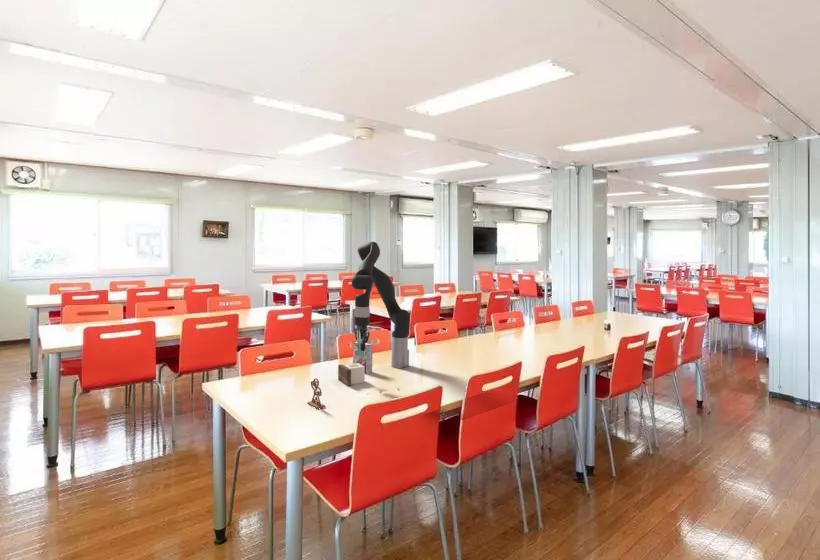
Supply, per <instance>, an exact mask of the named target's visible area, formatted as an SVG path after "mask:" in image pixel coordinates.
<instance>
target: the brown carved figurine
mask: <svg viewBox="0 0 820 560" xmlns="http://www.w3.org/2000/svg"><path fill="white" fill-rule="evenodd" d="M319 386H320V380H319V378H313V380H311V381H310V387H311V389H312V390H313V395H312V397H311V398H312V399H311V401H307V402H306V405H307V404H309V405H311V406H313V407H315V408H317V409H318V410H320V409H319V408H322V409H324V408H323V407H325V408H326V405H325V404H323V403H321V399H320V397H322V396H323V394H322V393H323V392H322V389H321V387H319ZM309 405H308V406H309ZM311 406H310V407H311ZM313 407H312V408H313ZM315 408H314V409H315ZM317 409H316V410H317Z"/></svg>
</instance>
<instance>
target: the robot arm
mask: <svg viewBox="0 0 820 560" xmlns="http://www.w3.org/2000/svg"><path fill="white" fill-rule="evenodd" d="M380 250H381V249H380V247H379V245H378V243H377V241H370V242H366V243H364V244H362V245H359V246H358V247H357V252H358V256H359V258H360V260H361V263H360V265H359V266H358V271H357V272H356V273H354V275H353V276H352V279H351V286H352V288H353V289H354V290H363V291H364V290H365V292H364V293H360V294H356V295H355V297H354V299H355V300H354V301H355V302H354V306H355V307H354V314H353V315H354V322H353V324H354V326H356V328H355V327H354V328H353V329H354V336H355V340H356V342H358V349H359V336H360V339H361V351H365V343H368V341H369V338H370V334H371V333H370V332H369V331H368V326H370V322H371V321H370V319H371V318H370V317H371V313H370V312H371V310H370V297H371V292H372V289H373V287H374V286H375V288H376V291H377V293H378V294H379V296H380V298H381V300H382V303H384V306H385V308H386V311H387V314H388V317H389V319H390V321H391V322H392V323H393V324H395V327H394V330H393V331H392V332H391V363H390V364H391V365H390V366H391V367H392V368H396V369H404V368H407V367H410V350H409V347H408V346H409V345H408V343H409V342H408V341H409V333H410V325H411V324H410V323H411V316H410V312H409V311H408V310H406V309H402V308H401V306H400V305H399V303H398V301H397V299H396V295H395V293H396V292H395V287H394V284H393V282H392V280H391V278H390V276H389V275H388V274H387V273H385V272H384V271H382V270H380V269H379V268H377V266H375V264H376V263H377V260H378V259H379V257H380V255H381V251H380ZM361 336H363V337H361ZM362 339H363V340H362ZM403 367H404V368H403Z"/></svg>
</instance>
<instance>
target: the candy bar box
mask: <svg viewBox="0 0 820 560" xmlns="http://www.w3.org/2000/svg"><path fill="white" fill-rule="evenodd" d="M358 355H359V349H358V342H357V341H355V342H352V364H355V363H359V364H361V365H362V366H364V367H365V374H369V373H372V372H373V344H371V343H368V342H367V343H365V351H364V357H359V356H358Z"/></svg>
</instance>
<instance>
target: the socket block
mask: <svg viewBox="0 0 820 560" xmlns="http://www.w3.org/2000/svg"><path fill="white" fill-rule="evenodd" d="M343 365H344V366H346V367H347V368H349V369H350V370H351V385H356V384H364V383H365V379H366V378H365V377H366V376H365V374H366V373H365V367H364V366H362V365H361V364H359V363H355V364H353V363H347V364H343Z"/></svg>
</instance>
